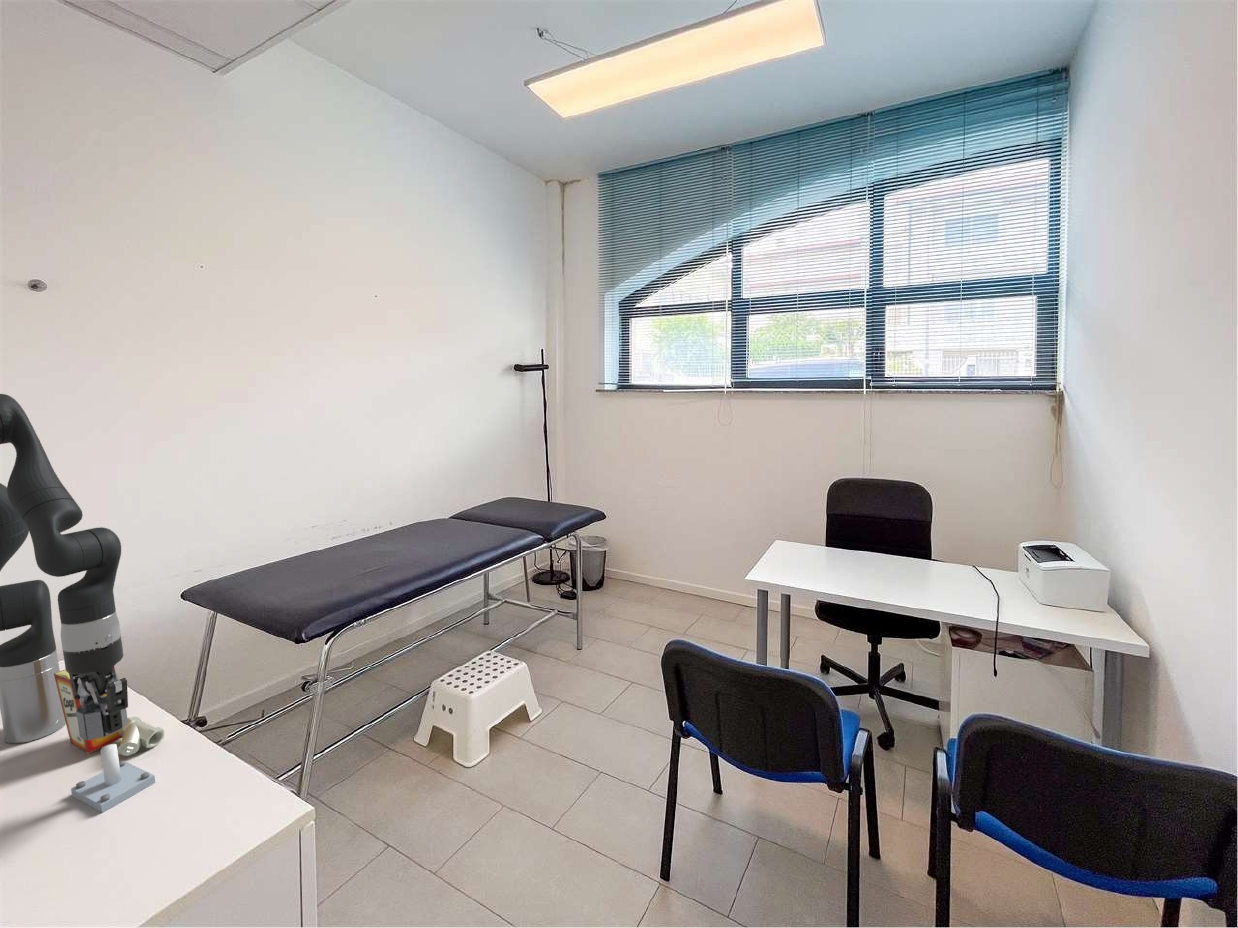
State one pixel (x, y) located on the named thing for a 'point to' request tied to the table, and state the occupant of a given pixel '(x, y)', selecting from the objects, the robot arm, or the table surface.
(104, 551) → the robot arm
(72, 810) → the table surface
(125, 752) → the pipe fitting
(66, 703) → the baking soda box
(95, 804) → the mounting base with peg
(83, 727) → the hub
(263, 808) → the table surface
